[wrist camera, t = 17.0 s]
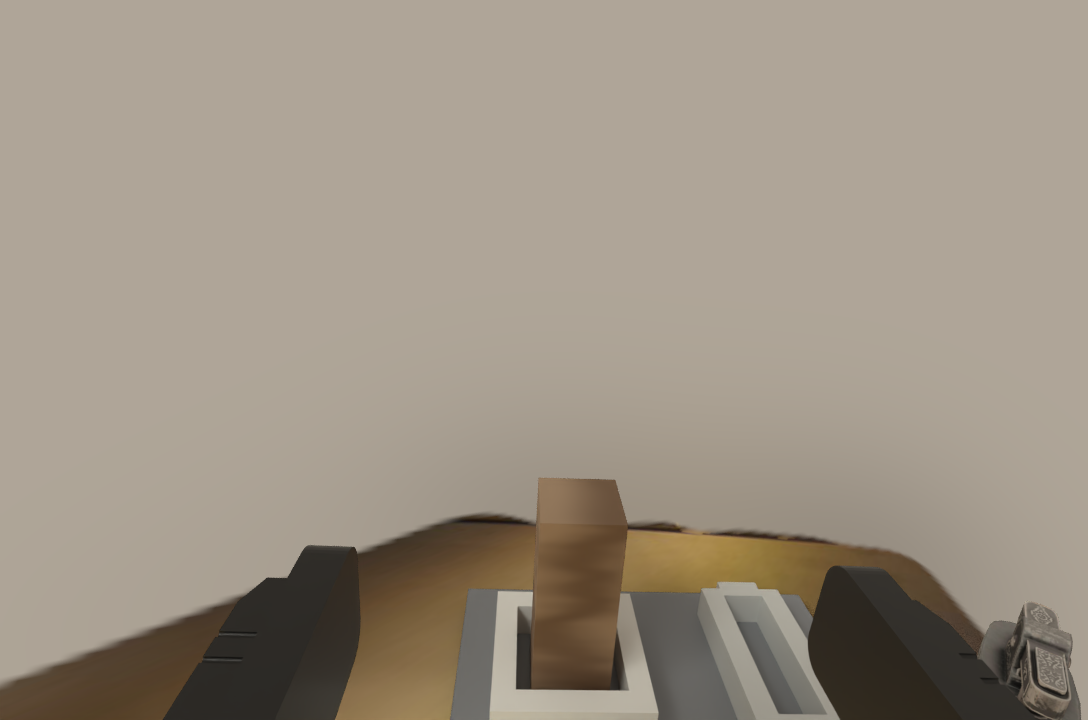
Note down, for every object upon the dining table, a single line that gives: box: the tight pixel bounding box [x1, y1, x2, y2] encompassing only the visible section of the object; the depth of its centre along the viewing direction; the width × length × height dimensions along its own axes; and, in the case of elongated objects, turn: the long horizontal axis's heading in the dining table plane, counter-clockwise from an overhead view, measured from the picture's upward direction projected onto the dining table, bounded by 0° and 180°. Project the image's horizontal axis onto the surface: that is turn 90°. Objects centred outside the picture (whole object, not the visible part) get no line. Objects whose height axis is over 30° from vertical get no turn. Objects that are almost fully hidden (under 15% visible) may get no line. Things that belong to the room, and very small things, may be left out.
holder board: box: [450, 582, 840, 720], centre depth 31 cm, size 22×13×3 cm, turn 92°
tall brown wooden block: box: [530, 478, 628, 691], centre depth 29 cm, size 4×4×11 cm
